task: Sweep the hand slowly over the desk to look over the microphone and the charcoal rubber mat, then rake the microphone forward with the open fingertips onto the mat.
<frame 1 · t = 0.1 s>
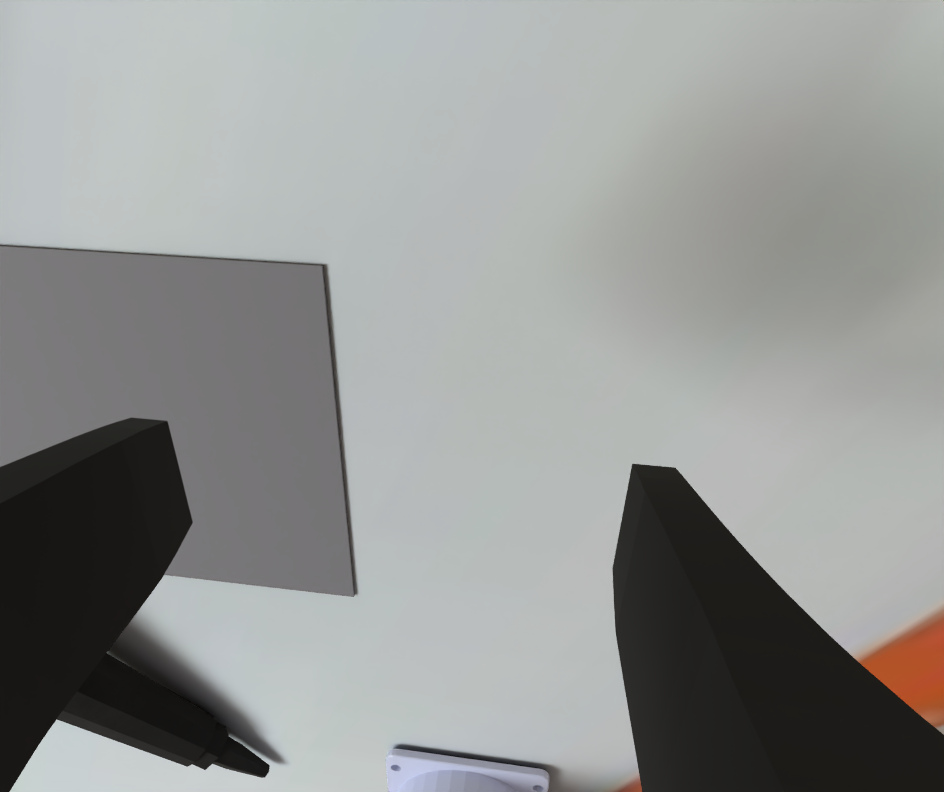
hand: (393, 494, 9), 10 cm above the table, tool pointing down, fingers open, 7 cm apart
microphone: (105, 651, 29), on the table, touching charcoal mat
charcoal mat: (11, 424, 23), on the table
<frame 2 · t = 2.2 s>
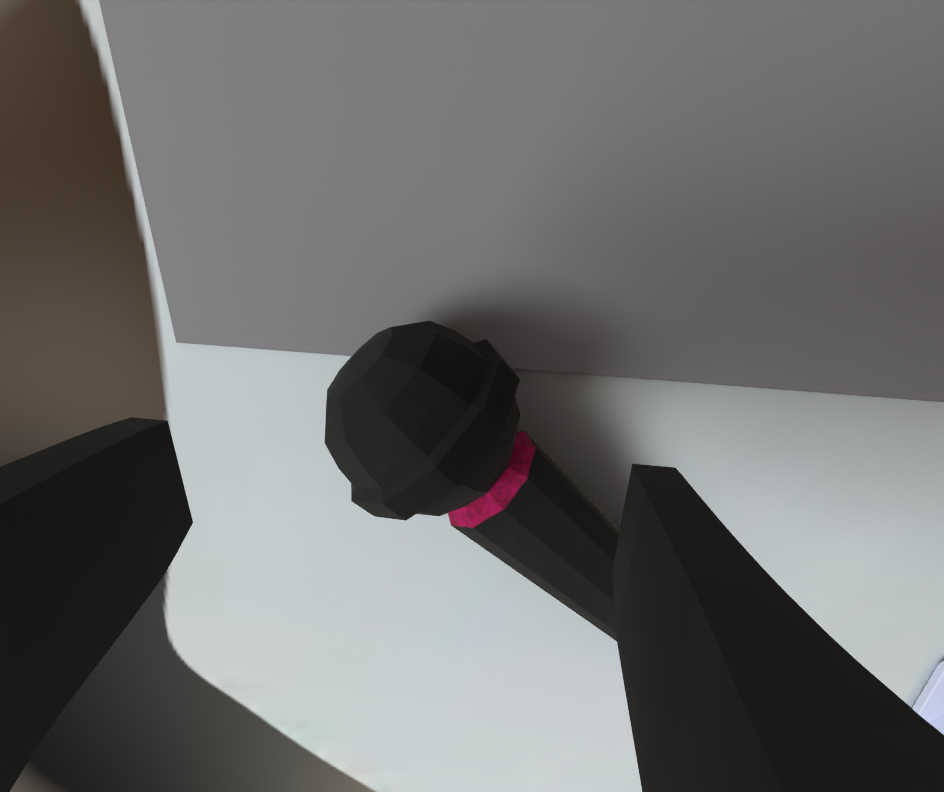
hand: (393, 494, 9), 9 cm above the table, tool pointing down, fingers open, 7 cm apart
microphone: (560, 522, 21), on the table, touching charcoal mat
charcoal mat: (610, 120, 15), on the table
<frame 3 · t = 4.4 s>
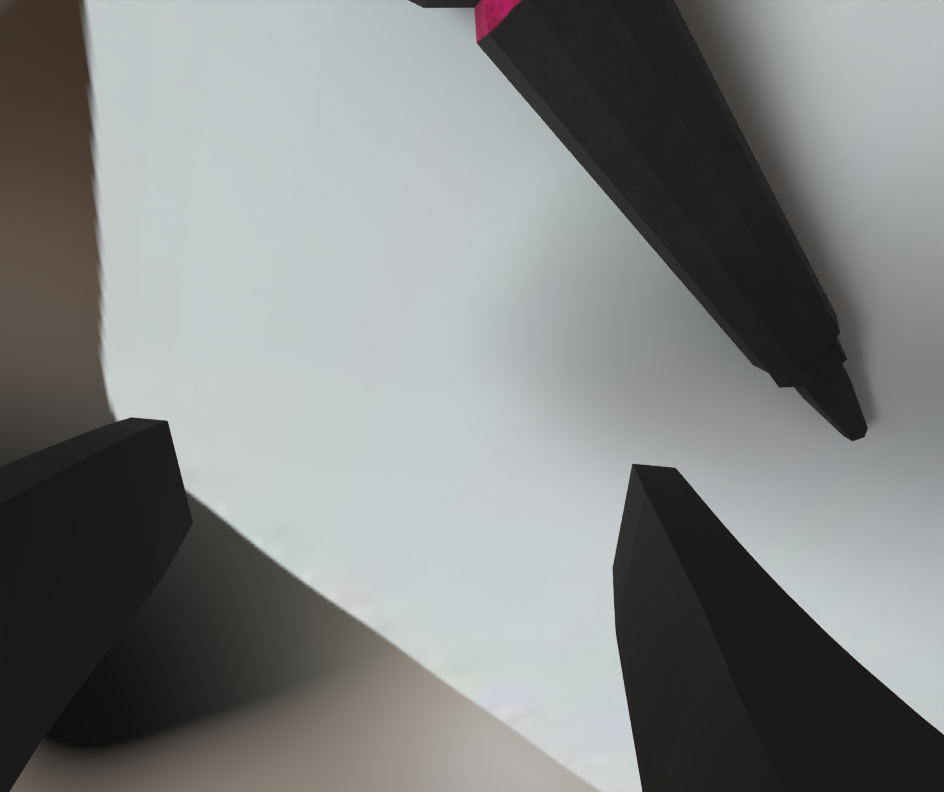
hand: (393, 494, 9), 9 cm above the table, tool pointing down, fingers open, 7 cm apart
microphone: (628, 159, 15), on the table, touching charcoal mat
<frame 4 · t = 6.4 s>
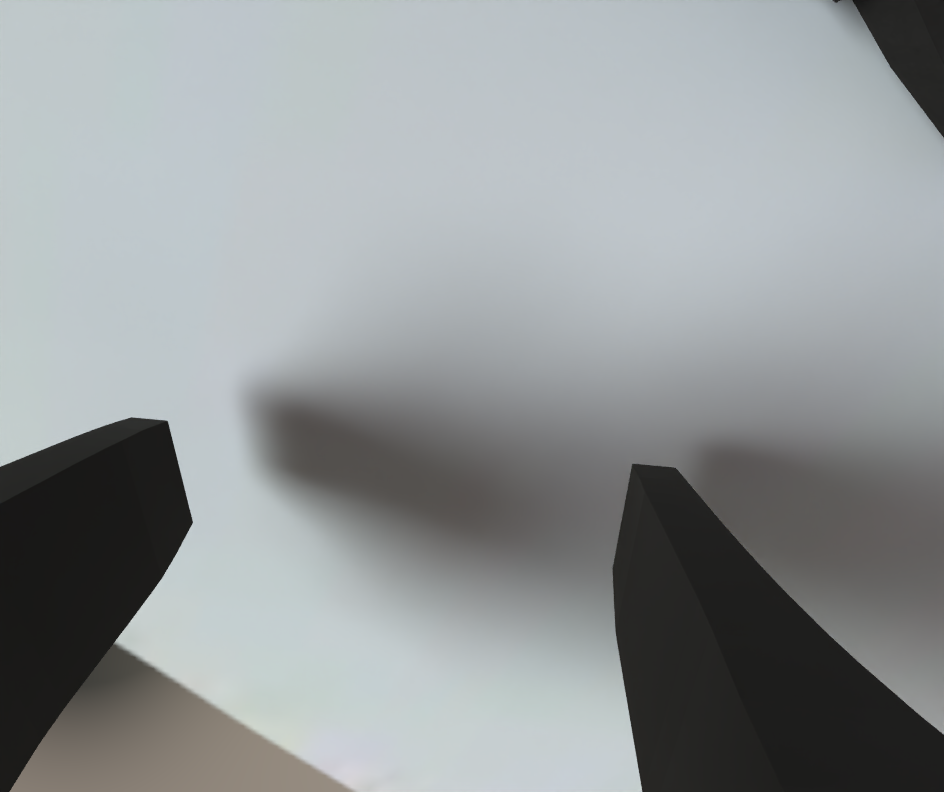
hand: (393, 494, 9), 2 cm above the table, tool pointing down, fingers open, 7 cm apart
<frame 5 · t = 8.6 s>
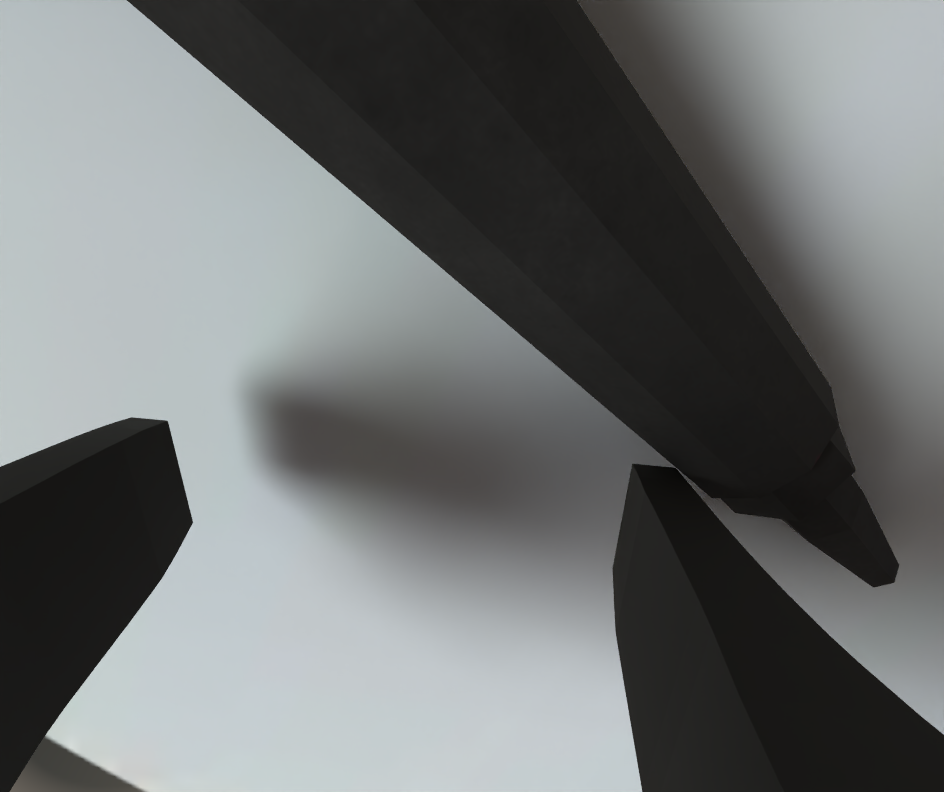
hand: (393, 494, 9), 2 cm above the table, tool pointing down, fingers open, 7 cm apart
microphone: (428, 114, 8), on the table, touching gripper
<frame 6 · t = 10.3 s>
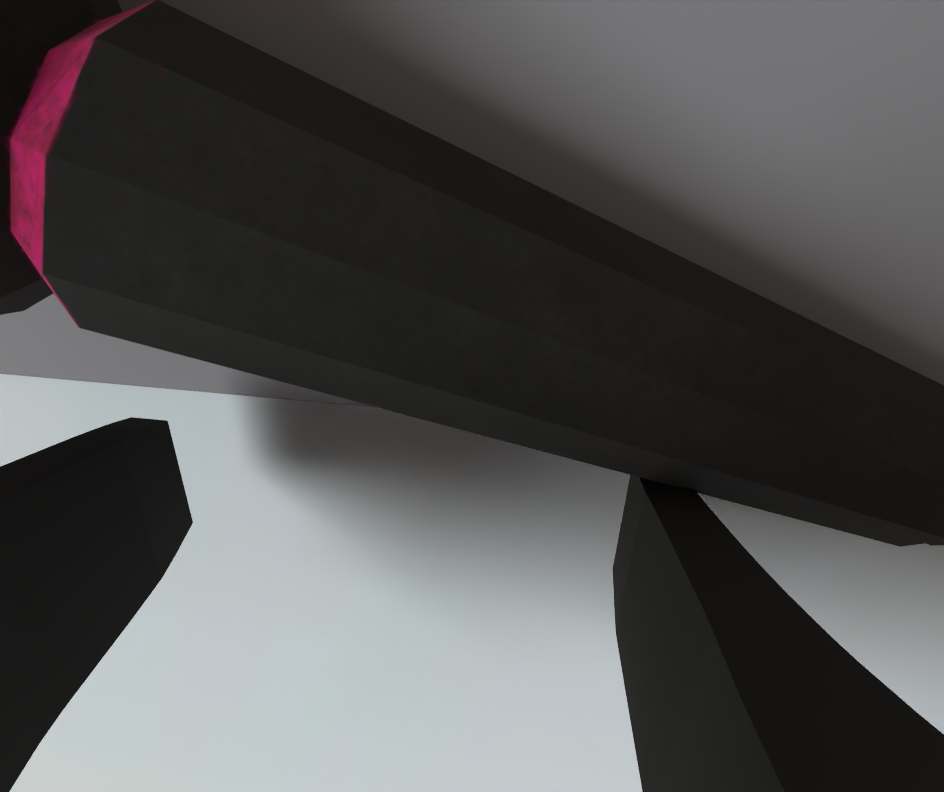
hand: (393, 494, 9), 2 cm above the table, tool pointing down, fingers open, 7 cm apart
microphone: (497, 304, 9), resting on charcoal mat, touching gripper
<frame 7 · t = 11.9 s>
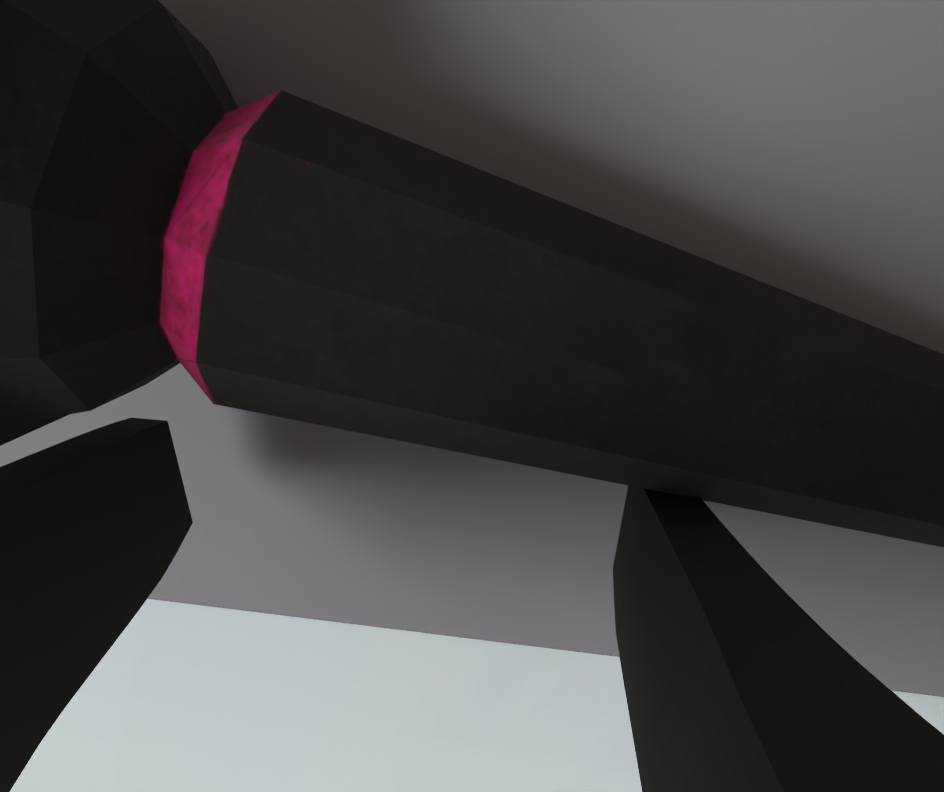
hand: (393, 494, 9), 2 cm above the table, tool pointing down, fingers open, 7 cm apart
microphone: (582, 340, 10), resting on charcoal mat
charcoal mat: (413, 328, 10), on the table
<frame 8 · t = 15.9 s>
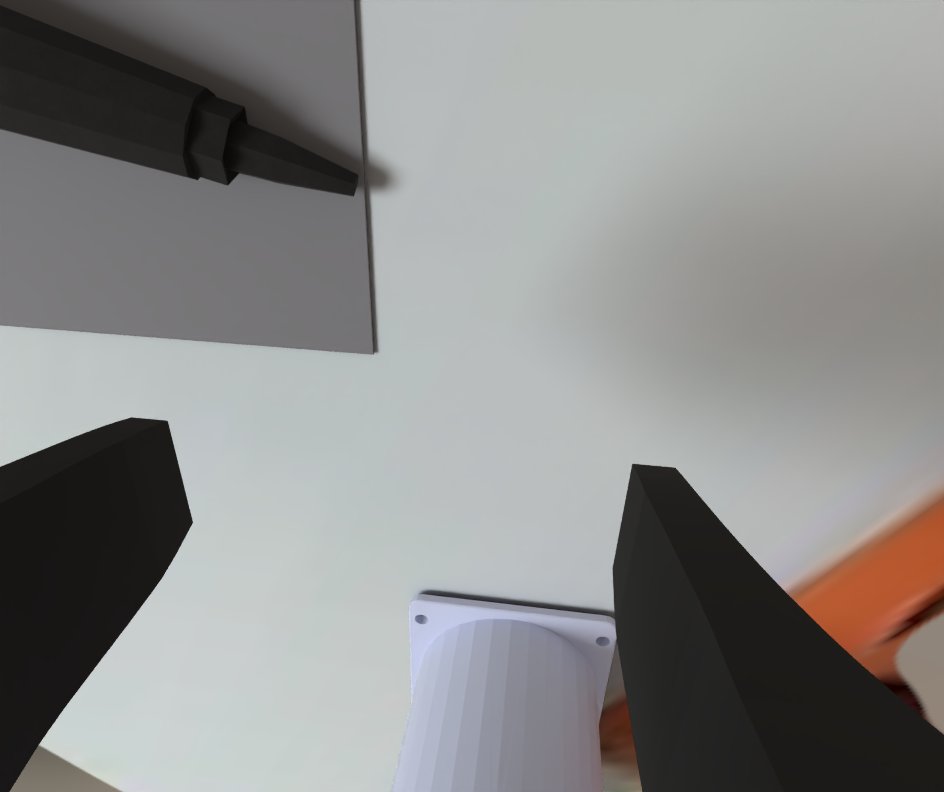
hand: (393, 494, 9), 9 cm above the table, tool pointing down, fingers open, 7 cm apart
microphone: (2, 77, 16), resting on charcoal mat
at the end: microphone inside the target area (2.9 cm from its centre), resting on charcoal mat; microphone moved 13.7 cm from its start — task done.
